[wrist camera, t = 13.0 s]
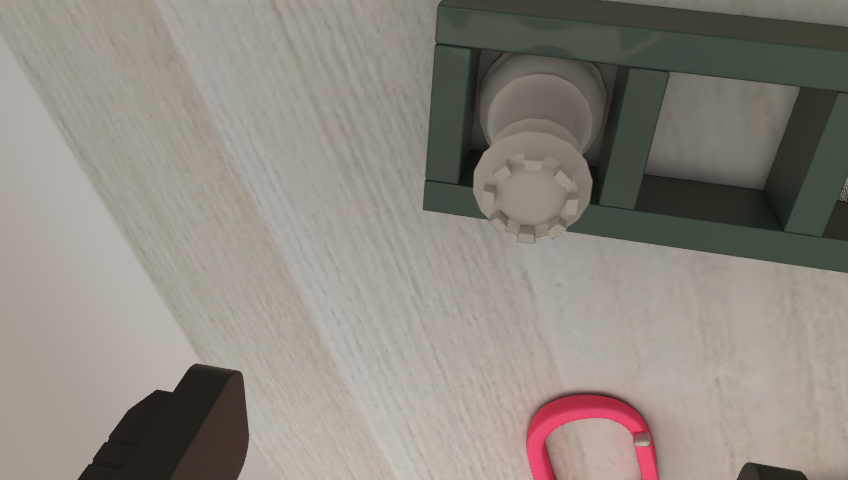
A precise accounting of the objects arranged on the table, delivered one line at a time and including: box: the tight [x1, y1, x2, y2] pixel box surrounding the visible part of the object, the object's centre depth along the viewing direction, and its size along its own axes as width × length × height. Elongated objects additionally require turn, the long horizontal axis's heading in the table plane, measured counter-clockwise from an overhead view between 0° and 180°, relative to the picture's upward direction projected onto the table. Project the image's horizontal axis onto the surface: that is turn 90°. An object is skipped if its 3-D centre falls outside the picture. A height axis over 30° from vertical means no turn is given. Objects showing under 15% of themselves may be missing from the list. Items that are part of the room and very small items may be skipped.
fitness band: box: [526, 395, 659, 480], centre depth 33 cm, size 8×6×2 cm
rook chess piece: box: [473, 52, 607, 244], centre depth 22 cm, size 4×4×8 cm
